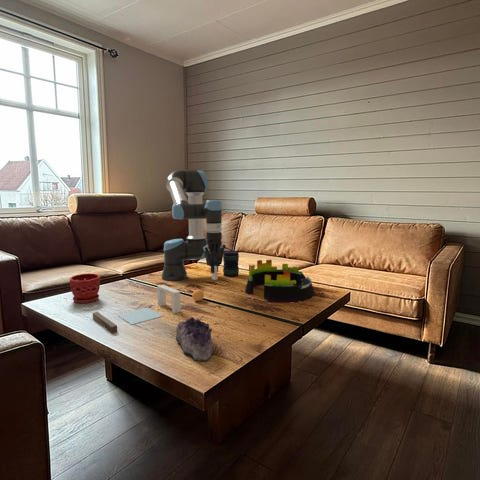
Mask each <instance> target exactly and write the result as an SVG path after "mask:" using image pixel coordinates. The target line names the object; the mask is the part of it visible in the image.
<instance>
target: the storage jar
mask: <svg viewBox="0 0 480 480" xmlns="http://www.w3.org/2000/svg"><path fill="white" fill-rule="evenodd" d="M239 252H240V251H238V250H224V253H223V259H222V262H223V267H222V268H223V269H222V271H223V277H226V278H235V277H236V278H237V277H238V276H239V270H240V269H239V260H240V259H239V258H240V255H239Z"/></svg>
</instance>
